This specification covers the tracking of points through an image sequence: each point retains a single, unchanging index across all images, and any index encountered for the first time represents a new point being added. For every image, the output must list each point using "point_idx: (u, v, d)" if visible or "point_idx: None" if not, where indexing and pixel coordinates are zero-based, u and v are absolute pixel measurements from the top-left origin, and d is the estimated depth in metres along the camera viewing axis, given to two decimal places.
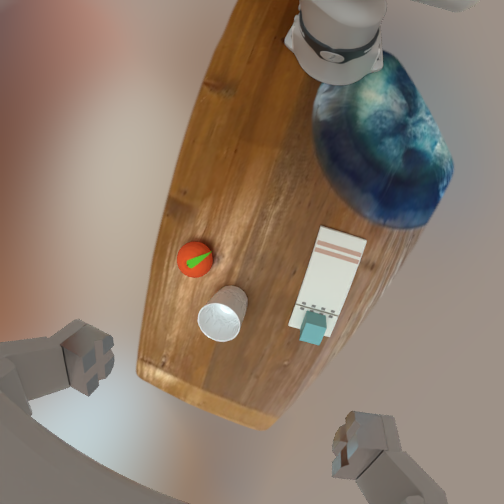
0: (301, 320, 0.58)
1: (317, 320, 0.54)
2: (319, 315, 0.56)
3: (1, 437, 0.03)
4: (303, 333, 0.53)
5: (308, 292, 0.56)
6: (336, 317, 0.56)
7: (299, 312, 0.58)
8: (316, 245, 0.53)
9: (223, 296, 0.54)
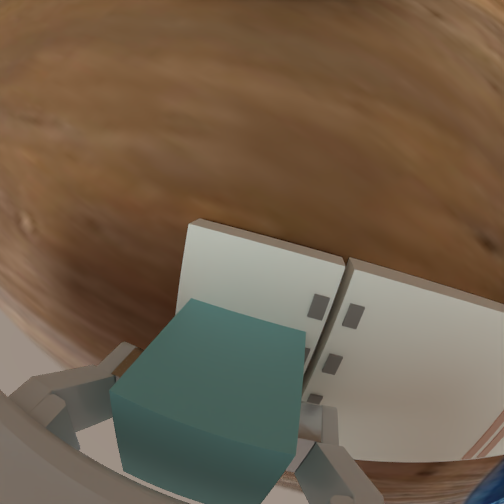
0: (234, 303, 0.10)
1: None
2: None
3: (1, 437, 0.03)
4: (178, 429, 0.05)
5: (414, 333, 0.09)
6: None
7: (291, 290, 0.09)
8: None
9: None
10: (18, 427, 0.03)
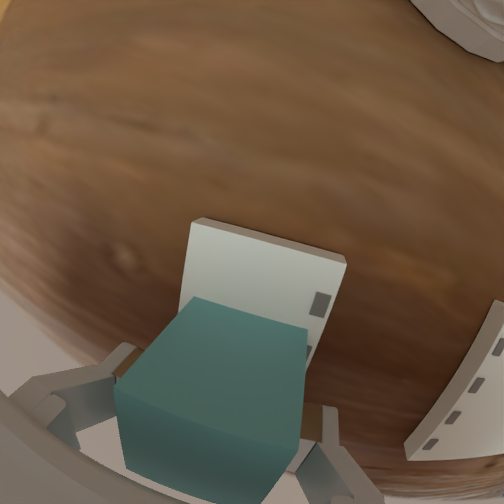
0: (237, 301, 0.10)
1: None
2: None
3: (1, 437, 0.03)
4: (181, 425, 0.05)
5: None
6: None
7: (293, 288, 0.09)
8: None
9: None
10: (18, 427, 0.03)
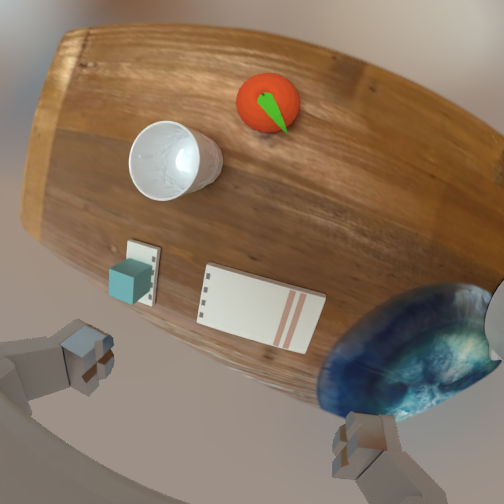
0: (137, 258, 0.40)
1: (141, 287, 0.38)
2: (148, 284, 0.40)
3: (1, 437, 0.03)
4: (118, 274, 0.35)
5: (225, 282, 0.38)
6: (150, 304, 0.42)
7: (148, 255, 0.40)
8: (298, 292, 0.37)
9: (209, 158, 0.29)
10: (18, 427, 0.03)
